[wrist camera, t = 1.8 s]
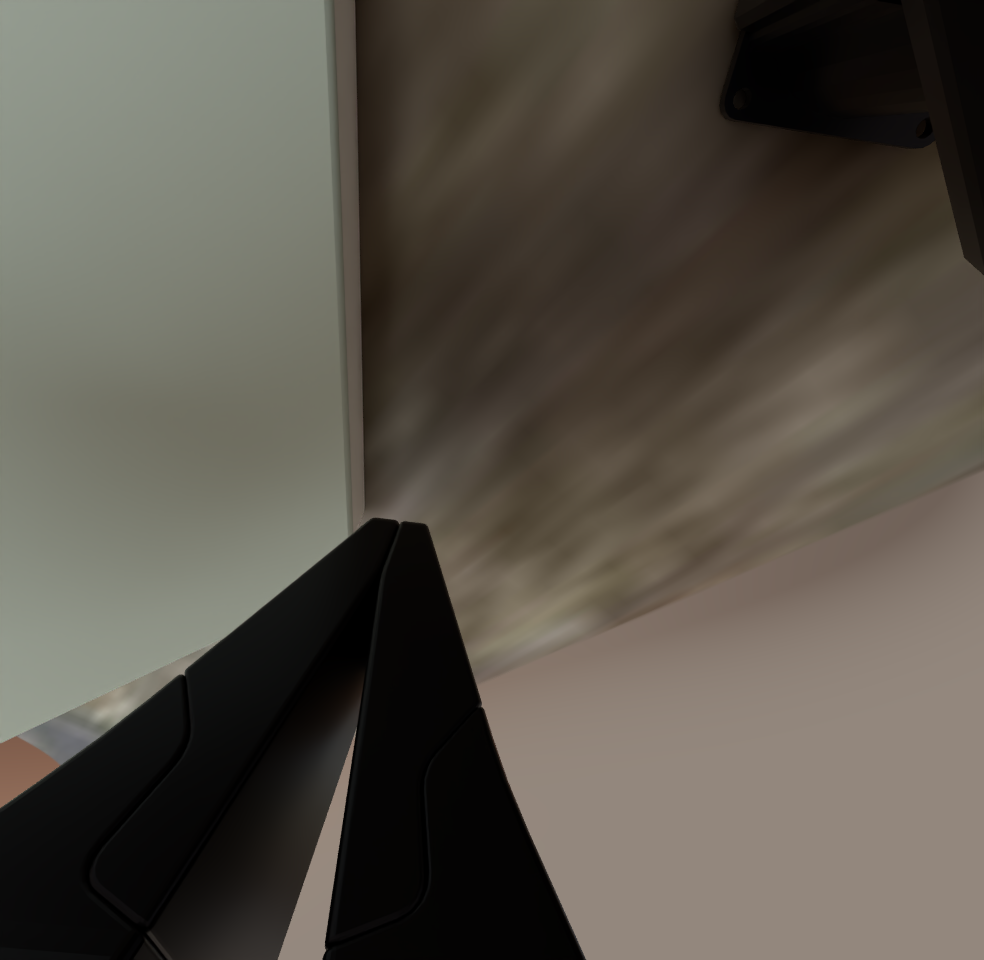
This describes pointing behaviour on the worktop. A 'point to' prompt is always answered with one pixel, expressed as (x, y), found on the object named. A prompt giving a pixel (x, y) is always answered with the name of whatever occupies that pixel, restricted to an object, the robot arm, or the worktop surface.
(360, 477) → the cable duct
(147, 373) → the duct cover
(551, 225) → the worktop surface
